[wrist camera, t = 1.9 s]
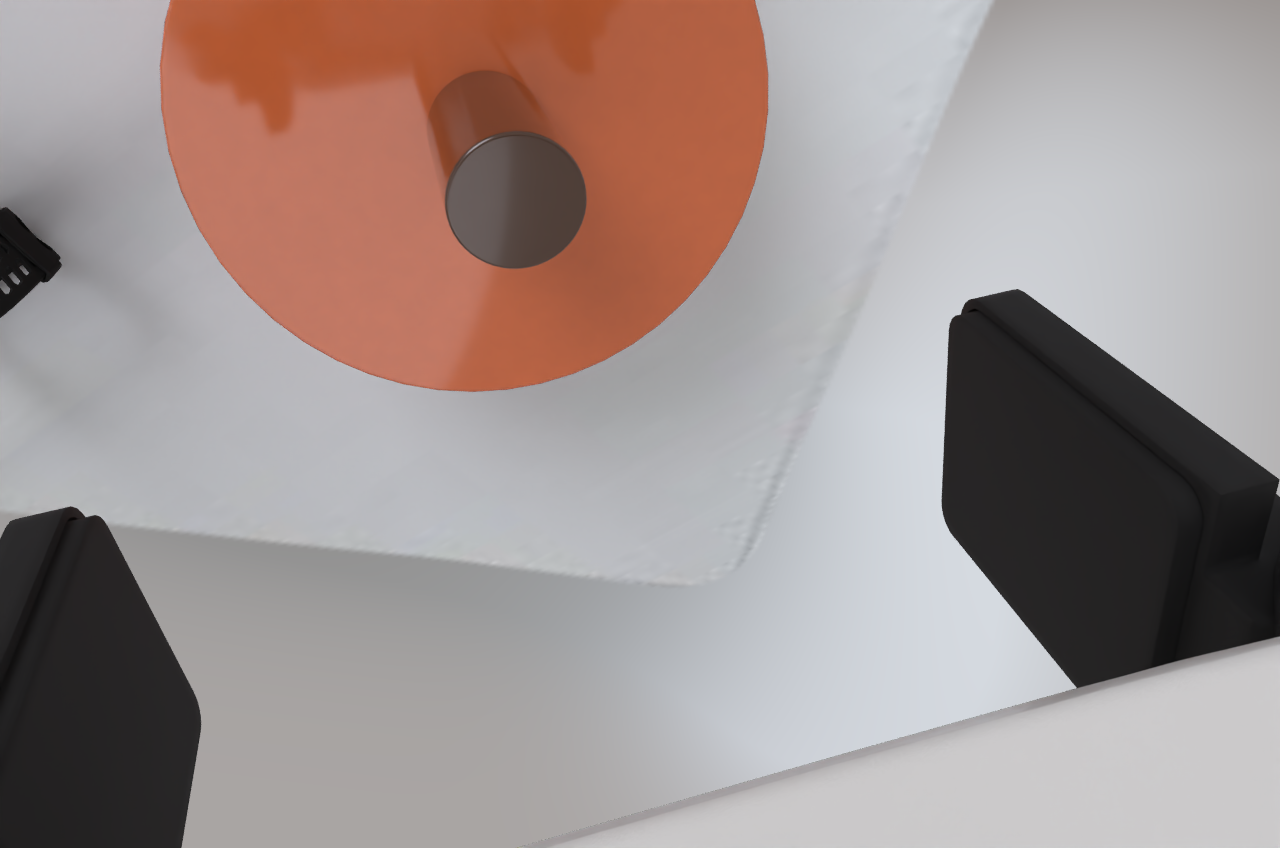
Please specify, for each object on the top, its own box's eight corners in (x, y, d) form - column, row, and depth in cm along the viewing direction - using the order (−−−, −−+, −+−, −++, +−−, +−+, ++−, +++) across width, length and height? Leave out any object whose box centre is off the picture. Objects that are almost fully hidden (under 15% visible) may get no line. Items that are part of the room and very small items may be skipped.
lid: (282, 422, 24) (268, 569, 20) (57, -165, 18) (-44, -150, 13) (768, 308, 26) (861, 419, 21) (729, -269, 19) (851, -288, 15)
